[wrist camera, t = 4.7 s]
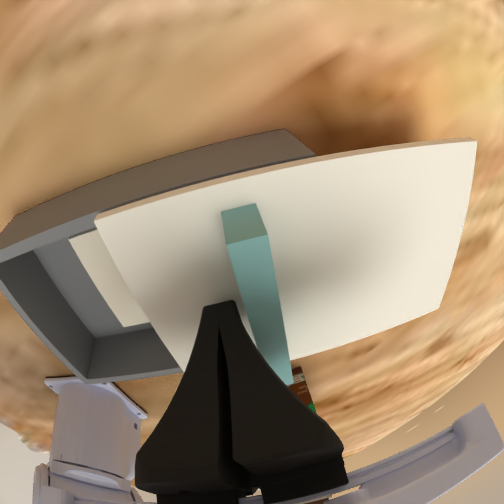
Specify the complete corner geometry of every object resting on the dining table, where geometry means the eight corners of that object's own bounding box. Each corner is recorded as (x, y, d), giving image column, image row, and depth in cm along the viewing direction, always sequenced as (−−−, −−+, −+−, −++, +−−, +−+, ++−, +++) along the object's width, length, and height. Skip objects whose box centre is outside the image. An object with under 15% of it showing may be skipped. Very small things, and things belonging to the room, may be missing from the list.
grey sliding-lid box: (304, 291, 20) (324, 338, 17) (94, 338, 20) (85, 384, 16) (284, 128, 13) (315, 153, 10) (14, 217, 13) (-20, 259, 10)
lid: (434, 303, 17) (453, 330, 15) (190, 375, 16) (193, 412, 14) (469, 137, 10) (508, 158, 8) (97, 214, 10) (76, 254, 8)
